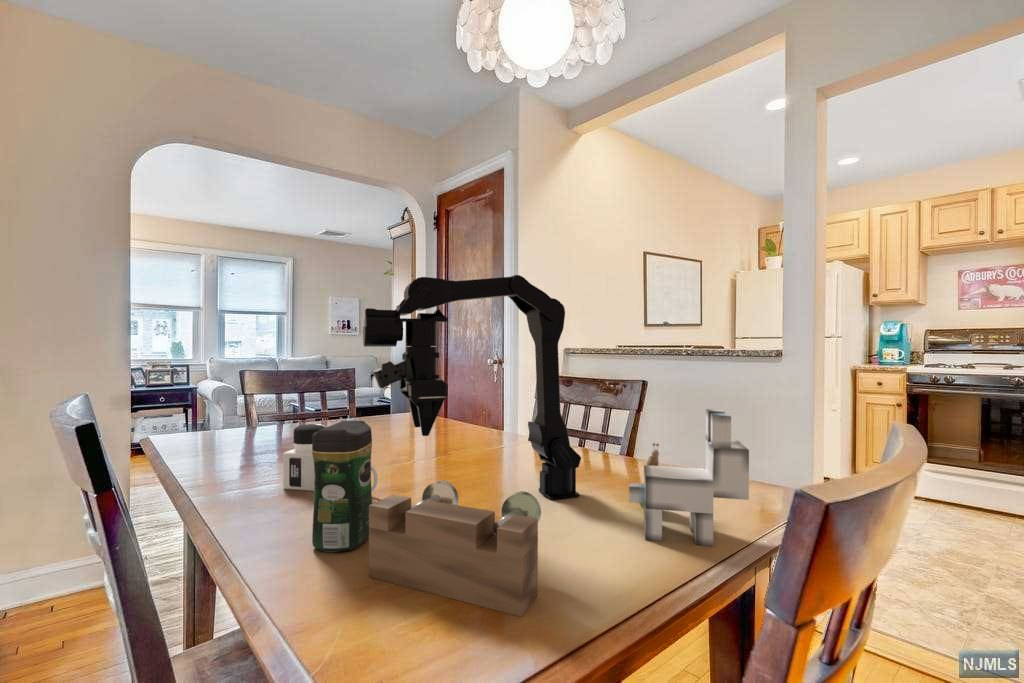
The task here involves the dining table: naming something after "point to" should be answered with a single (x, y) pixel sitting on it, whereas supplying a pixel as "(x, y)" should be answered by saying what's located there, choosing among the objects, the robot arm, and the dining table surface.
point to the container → (300, 459)
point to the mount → (455, 552)
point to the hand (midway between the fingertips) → (421, 431)
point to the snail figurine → (652, 462)
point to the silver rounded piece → (439, 493)
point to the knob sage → (519, 508)
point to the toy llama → (696, 483)
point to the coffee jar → (341, 485)
